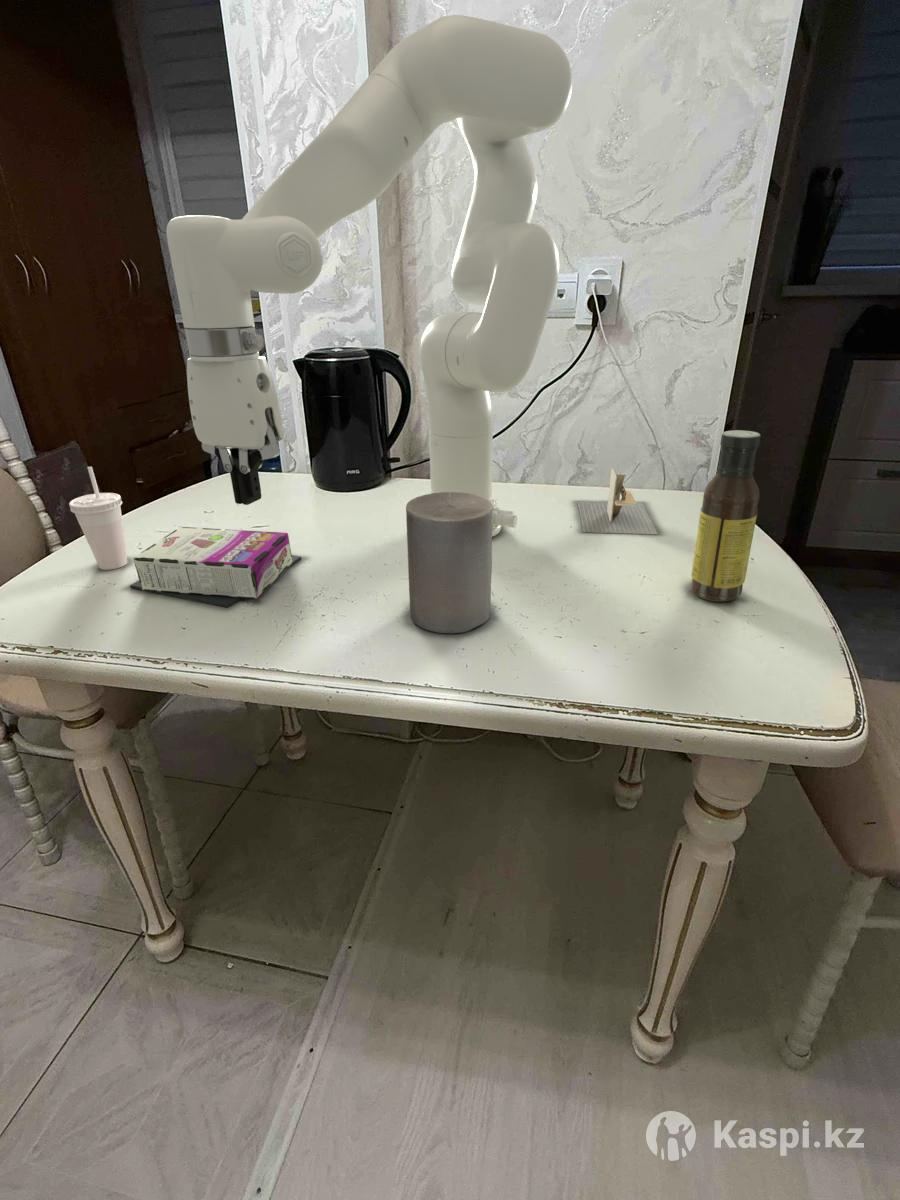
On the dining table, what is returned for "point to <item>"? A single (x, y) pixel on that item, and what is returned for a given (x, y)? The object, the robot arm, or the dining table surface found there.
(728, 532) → the sauce bottle
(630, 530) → the architectural model
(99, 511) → the smoothie
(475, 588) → the pillar candle
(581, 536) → the dining table surface
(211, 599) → the mat
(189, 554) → the candy bar box
